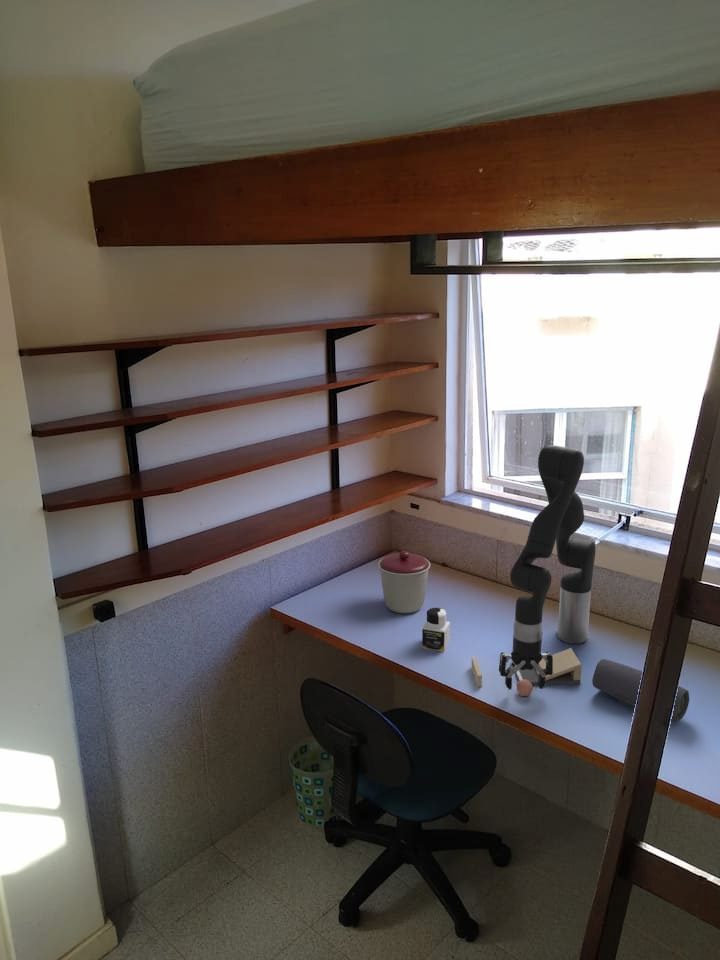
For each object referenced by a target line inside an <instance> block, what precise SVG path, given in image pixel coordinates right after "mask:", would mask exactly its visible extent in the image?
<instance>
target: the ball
mask: <svg viewBox="0 0 720 960" xmlns="http://www.w3.org/2000/svg"><path fill="white" fill-rule="evenodd" d="M533 686H534V685H532V684H531V682H530V681H528V680H520V681H518V682H517V684H516V691H517V693H518V694H519V695H520V696H523V697H529V696H530V695H531V694H532V693H533V691H534V687H533Z"/></svg>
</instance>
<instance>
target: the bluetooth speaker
mask: <svg viewBox="0 0 720 960" xmlns="http://www.w3.org/2000/svg"><path fill="white" fill-rule="evenodd" d="M641 675H642V670H640V669H636V668H634V667H632V666H629V665H625V664H622V663H620V662H618V661H617V662H616V661H613V660H610V659H606V658H602V659H600V660H599V661H598V662H597V664H596V667H595V669H594V673H593V676H592V681H591V682H592V686H593V687H594V688H595V689H596V690H598V691H600V692H603V693H605V694H607V695H610V696H612V697H613V698H615V699H617V700H618V702H620V703H621V704H623V705H626V706H628V707H631V708H632V707H633V709H635V708H634V707H635V704H636V700H637V695H638V689H639V685H640V680H641ZM678 686H679V687H678V692H677V696H676V700H675V705H674V711H673V716H672V719H671V720H673V721H675V722H680V721H681V720H682V719H683V718H684V716H685V715H686V712H687V710H688V707H689V704H690V692H689V690H687V689H686V688H684V687H682V686H680V685H678Z"/></svg>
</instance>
